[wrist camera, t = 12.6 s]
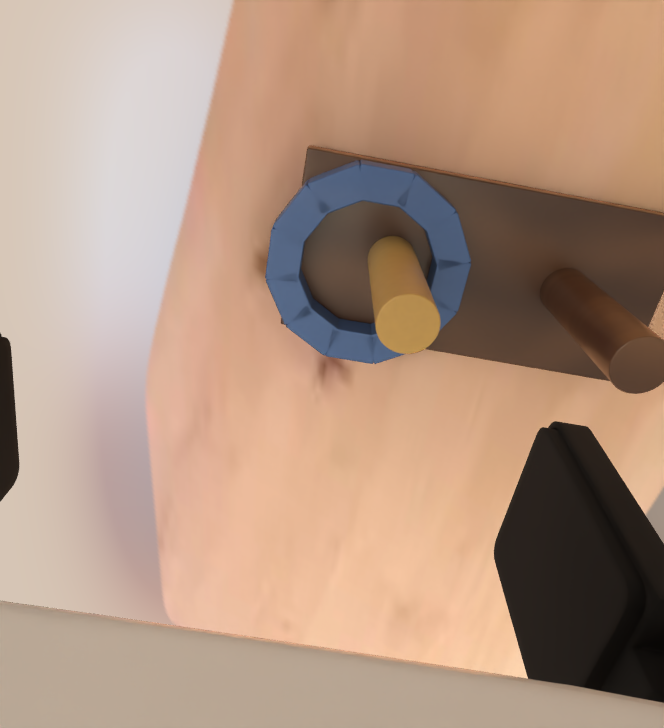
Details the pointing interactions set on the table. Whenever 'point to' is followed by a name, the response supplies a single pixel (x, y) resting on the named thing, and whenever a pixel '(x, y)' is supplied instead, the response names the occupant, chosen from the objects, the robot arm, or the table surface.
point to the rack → (501, 276)
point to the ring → (336, 194)
